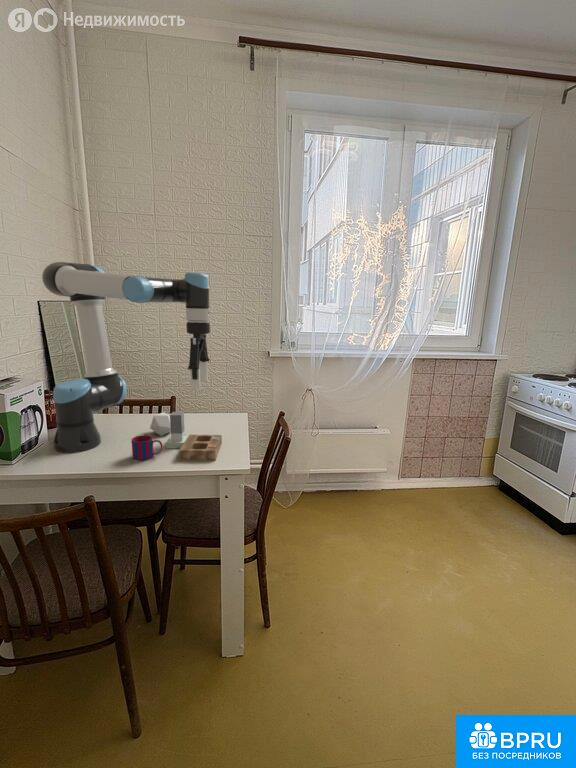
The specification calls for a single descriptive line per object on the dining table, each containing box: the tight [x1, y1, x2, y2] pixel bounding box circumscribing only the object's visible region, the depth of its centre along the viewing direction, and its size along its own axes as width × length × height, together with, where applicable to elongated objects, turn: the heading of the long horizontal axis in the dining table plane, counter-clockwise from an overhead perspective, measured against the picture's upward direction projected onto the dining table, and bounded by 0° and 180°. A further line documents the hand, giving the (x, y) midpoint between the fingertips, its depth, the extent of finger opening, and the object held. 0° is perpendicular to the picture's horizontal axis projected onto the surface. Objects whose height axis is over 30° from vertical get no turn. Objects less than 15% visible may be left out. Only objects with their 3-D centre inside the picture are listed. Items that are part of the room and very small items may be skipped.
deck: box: [165, 435, 189, 449], centre depth 142 cm, size 7×7×2 cm
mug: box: [131, 434, 164, 462], centre depth 129 cm, size 7×10×7 cm
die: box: [149, 411, 171, 437], centre depth 152 cm, size 8×9×10 cm
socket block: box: [179, 434, 223, 461], centre depth 136 cm, size 12×15×4 cm
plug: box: [169, 411, 186, 441], centre depth 141 cm, size 4×4×10 cm
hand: (199, 384), depth 131 cm, fingers open, 13 cm apart
